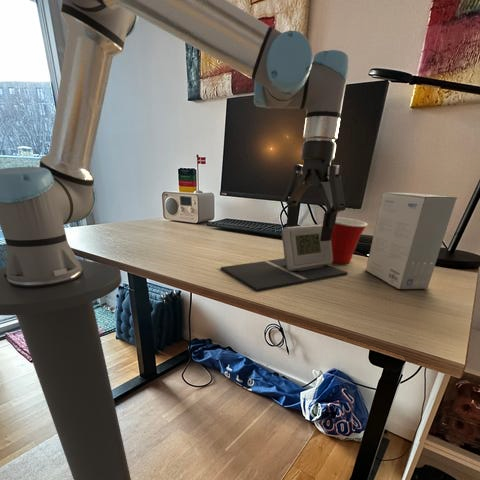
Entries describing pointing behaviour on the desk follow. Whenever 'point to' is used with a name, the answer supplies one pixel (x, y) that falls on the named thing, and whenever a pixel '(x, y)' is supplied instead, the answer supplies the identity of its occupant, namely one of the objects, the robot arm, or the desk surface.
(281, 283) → the desk mat
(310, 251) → the digital clock
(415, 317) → the desk surface
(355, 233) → the plastic cup
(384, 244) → the hard drive box
